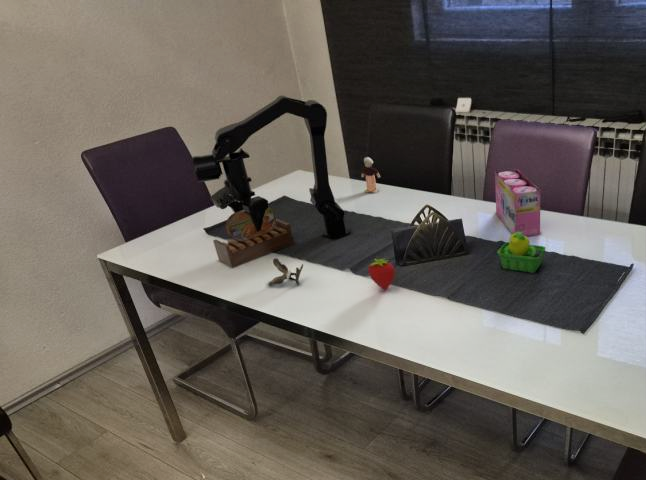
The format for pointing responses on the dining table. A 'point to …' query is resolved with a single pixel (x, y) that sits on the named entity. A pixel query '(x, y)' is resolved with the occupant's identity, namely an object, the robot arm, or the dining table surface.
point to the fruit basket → (521, 254)
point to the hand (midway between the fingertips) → (250, 227)
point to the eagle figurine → (285, 273)
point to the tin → (249, 225)
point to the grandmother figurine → (370, 175)
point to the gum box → (518, 202)
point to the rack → (254, 245)
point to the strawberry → (382, 273)
